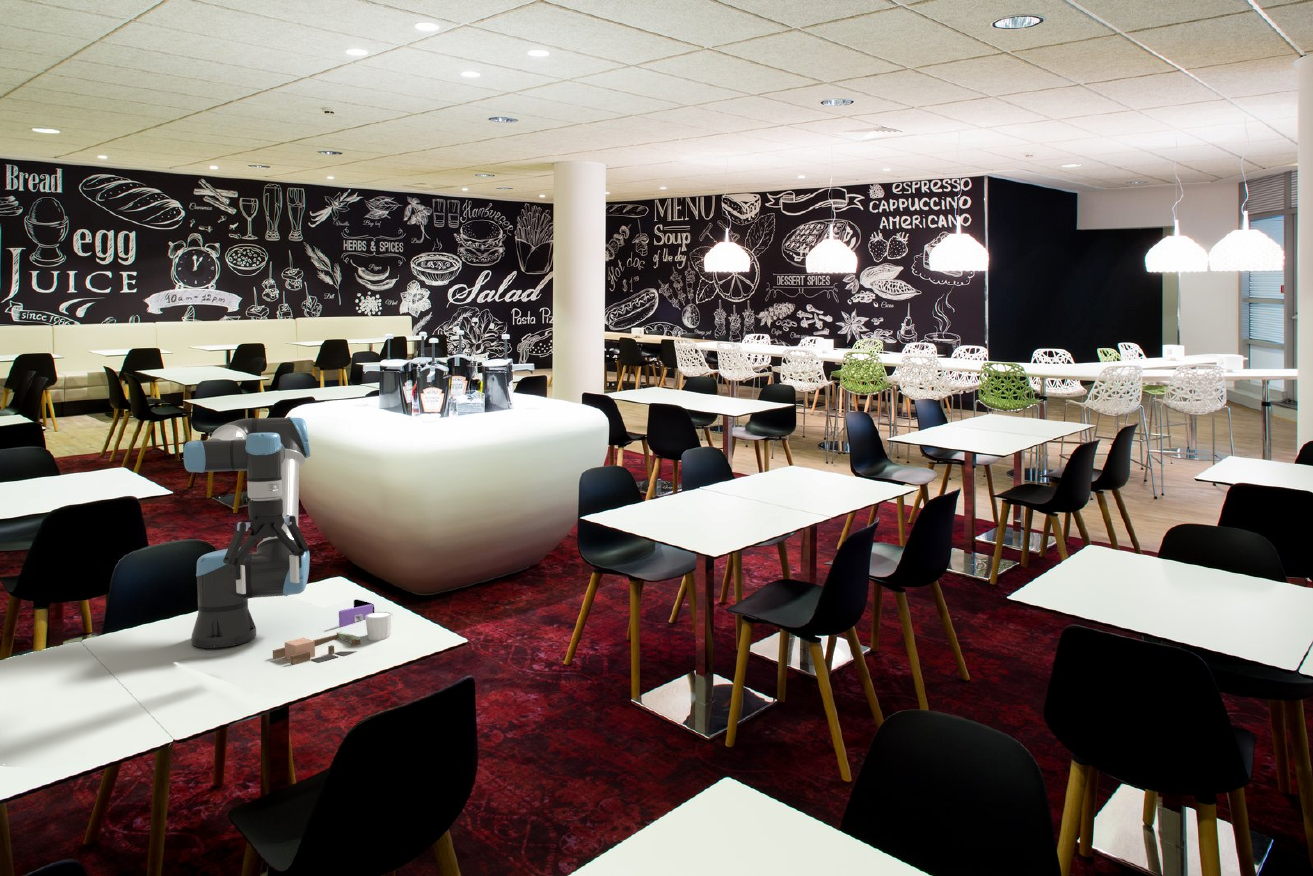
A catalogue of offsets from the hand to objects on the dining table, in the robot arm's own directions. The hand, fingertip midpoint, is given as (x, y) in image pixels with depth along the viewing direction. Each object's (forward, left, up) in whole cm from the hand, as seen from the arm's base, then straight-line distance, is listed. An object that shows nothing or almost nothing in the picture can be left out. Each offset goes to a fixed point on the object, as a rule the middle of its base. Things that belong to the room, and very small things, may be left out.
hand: (268, 587), depth 215 cm
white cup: (+4, +27, -19) cm, 33 cm away
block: (0, +7, -19) cm, 20 cm away
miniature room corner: (-14, +31, -19) cm, 39 cm away
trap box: (0, +13, -18) cm, 23 cm away
